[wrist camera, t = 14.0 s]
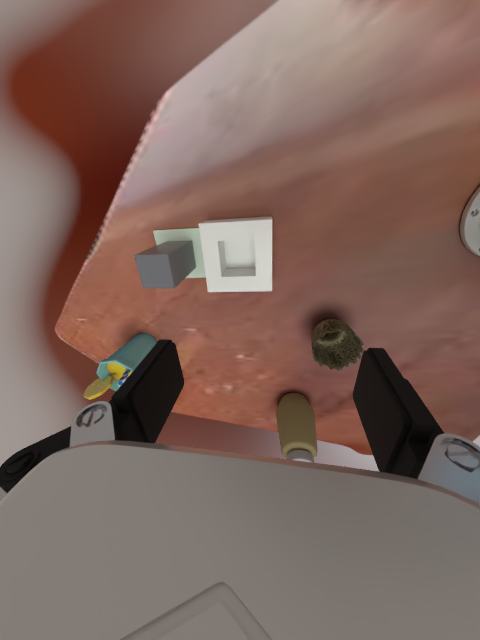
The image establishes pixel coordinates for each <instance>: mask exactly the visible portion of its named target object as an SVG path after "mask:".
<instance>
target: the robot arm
mask: <svg viewBox="0 0 480 640" xmlns="http://www.w3.org/2000/svg"><path fill="white" fill-rule="evenodd" d="M460 235H461V239H462V242H463V244H464V245H465V247H466V248H467V249H468V250H469V251H470V252H472V253H474V254H475V255H478V256H480V186H479V188H478V189H477V190H476V191H475V193H474V194H473V195H472V197H471V198H470V200H469V202H468V203H467V205H466V207H465V210H464V212H463V214H462V218H461V223H460ZM183 386H184V378H183V374H182V370H181V366H180V361H179V357H178V353H177V349H176V345H175V343H173V342H172V341H171V340H159V341H158V342H157V343H156V344H155V346H154V347H153V348H152V349H151V350H150V352H149V353H148V354H147V355H146V356H145V358H144V359H143V360H142V361H141V362H140V364H139V365H138V366H137V367H136V368H135V370H134V371H133V372H132V373H131V374H130V376H129V377H128V378H127V379H126V380H125V382H124V383H123V384H122V385H121V386H120V388H119V389H118V390H117V391H116V392H115V394H114V395H113V396H112V397H111V398H112V399H111V401H110V402H109V403H108V402H104V401H100V402H95V403H92V404H90V405H88V406H86V407H84V408H83V409H82V410H80V411H79V412H78V413H77V414H76V415H75V417H74V419H73V421H72V424H71V426H70V427H68V428H66V429H64V430H62V431H60V432H58V433H56V434H54V435H51V436H49V437H47V438H45V439H43V440H41V441H39V442H37V443H34V444H32V445H30V446H28V447H26V448H24V449H22V450H20V451H18V452H17V453H15V454H14V455H12V456H11V457H10V458H9V459H7V460H6V461H5V462H4V463H3V464H2V466H1V467H0V640H480V447H479V446H478V445H476V444H475V443H473V442H471V441H470V440H468V439H466V438H463V437H461V436H458V435H454V434H446V433H444V432H443V431H442V429H441V428H440V426H439V425H438V423H437V422H436V421H435V419H434V418H433V416H432V415H431V413H430V412H429V410H428V409H427V407H426V406H425V404H424V403H423V402H422V400H421V399H420V397H419V396H418V394H417V393H416V391H415V390H414V388H413V387H412V385H411V384H410V383H409V381H408V380H406V379H405V378H403V376H402V375H401V373H400V372H399V370H398V369H397V367H396V366H395V364H394V363H393V361H392V360H391V358H390V357H389V355H388V354H387V352H386V351H385V350H384V349H383V348H368V350H367V351H364V352H363V355H362V359H361V363H360V367H359V371H358V375H357V379H356V383H355V387H354V391H353V399H354V402H355V405H356V408H357V411H358V413H359V416H360V419H361V422H362V425H363V427H364V430H365V433H366V436H367V439H368V441H369V444H370V447H371V450H372V453H373V456H374V458H375V461H376V464H377V467H378V469H379V471H380V472H377V471H370V470H363V469H356V468H349V467H342V466H334V465H327V464H318V463H311V462H304V461H296V460H288V459H280V458H272V457H264V456H256V455H248V454H240V453H231V452H223V451H214V450H207V449H198V448H189V447H181V446H172V445H163V444H154V443H155V442H156V439H157V438H158V436H159V434H160V432H161V430H162V428H163V426H164V424H165V422H166V420H167V418H168V416H169V414H170V412H171V410H172V408H173V406H174V404H175V402H176V400H177V398H178V396H179V394H180V392H181V390H182V388H183Z"/></svg>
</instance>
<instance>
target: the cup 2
mask: <svg viewBox="0 0 480 640" xmlns="http://www.w3.org/2000/svg"><path fill="white" fill-rule="evenodd" d="M363 345H364V344H363V342H362V341H361V339H360V338H359V337H358V336H357V335H356V334H355V332H354V331H353V330H352V329H351V328H350V327H349V326H348V325H347V324H345V323H344V322H342V321H340V320H336V319H324V320H322V321H320V322H319V324H318V325H317V326H316V327H315V328H314V330H313V333H312V353H313V358H314V360H315V362H317V363H318V364H319V365H320V366H322V365H323V364H324V365H325V366H326V365H327V366H328V367H329V368H330V369H331V370H332V369H333V368H335V369H336V370H338V371H339V370H341V369H342V368H343V366H346V367H347V368H349V366H350V364H349V362H351V363H356V362H357V359H360V358H361V356H360V352H361V353H363V349H362V346H363Z"/></svg>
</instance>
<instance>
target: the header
mask: <svg viewBox="0 0 480 640" xmlns="http://www.w3.org/2000/svg"><path fill="white" fill-rule="evenodd" d="M199 231H200V238H201V245H202V252H203V259H204V267H205V274H206V281H207V288H208V292H245V291H272V216H270V217H254V218H237V219H221V220H207V221H204V222H202V223H199Z"/></svg>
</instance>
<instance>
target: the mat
mask: <svg viewBox="0 0 480 640" xmlns="http://www.w3.org/2000/svg"><path fill="white" fill-rule="evenodd" d="M153 232H154V237H155V241H156V245H159V244H161V243H164V242H166V241H190V240H192V242H193V249H194V256H195V262H196V268H195V269H194V270H193V271H192V272H191V273H190V274H189V275H188V276H187V277H186V278H206V274H205V267H204V259H203V252H202V245H201V238H200V231H199V228H186V229H168V230H154V231H153Z"/></svg>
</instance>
